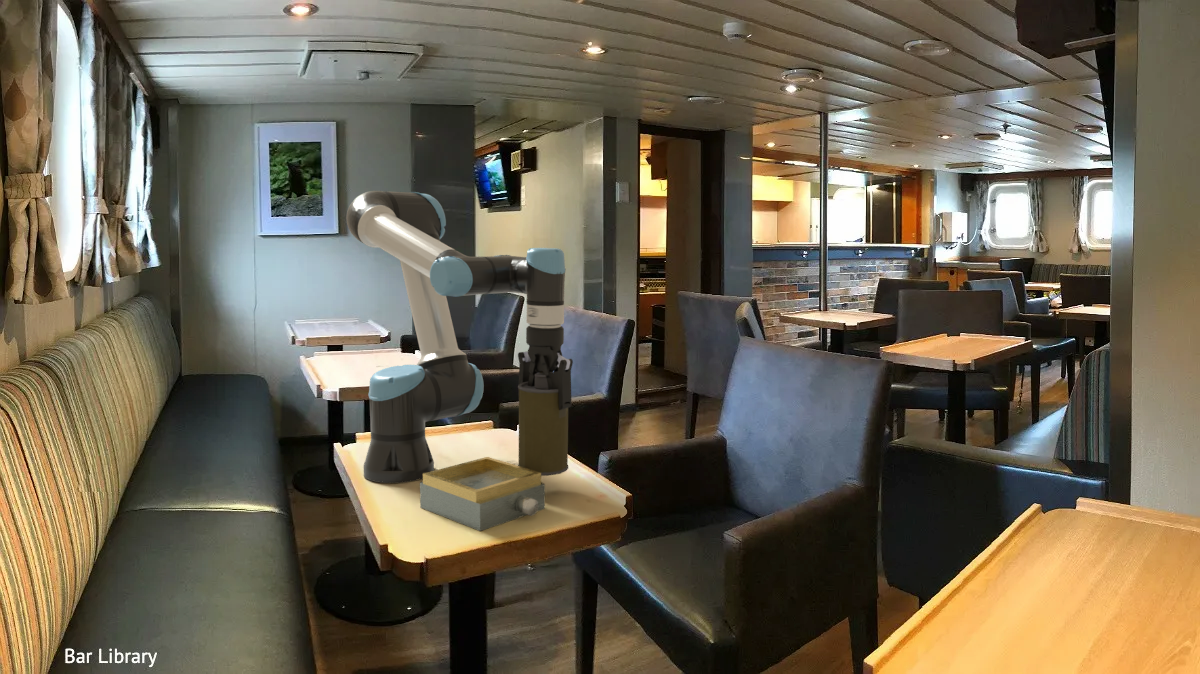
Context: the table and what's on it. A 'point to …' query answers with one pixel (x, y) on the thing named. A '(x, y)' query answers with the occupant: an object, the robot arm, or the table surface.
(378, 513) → the table surface
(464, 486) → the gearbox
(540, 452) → the canister
